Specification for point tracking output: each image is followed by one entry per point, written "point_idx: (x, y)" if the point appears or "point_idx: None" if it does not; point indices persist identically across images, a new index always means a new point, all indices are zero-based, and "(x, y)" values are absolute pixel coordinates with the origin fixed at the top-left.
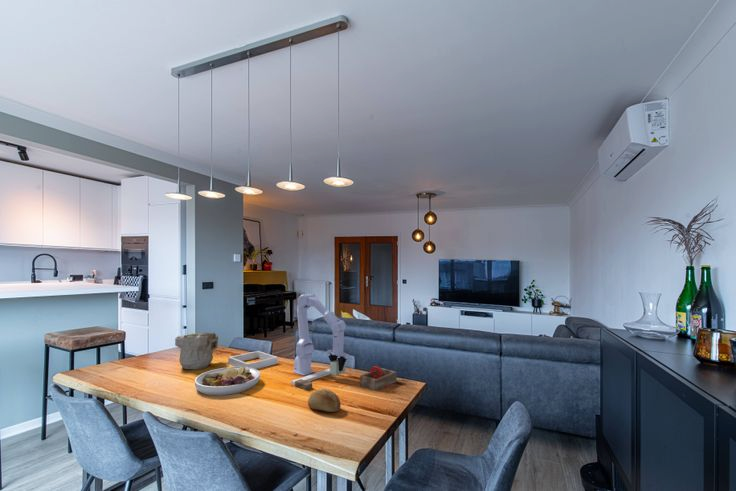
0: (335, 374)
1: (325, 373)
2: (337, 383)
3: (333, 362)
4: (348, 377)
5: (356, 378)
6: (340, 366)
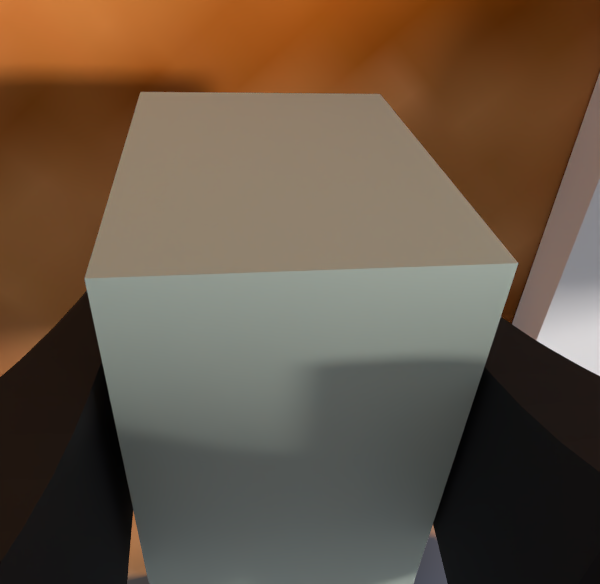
0: (151, 99)
1: (583, 203)
2: (76, 26)
3: (351, 332)
4: None
5: None
6: (45, 345)
